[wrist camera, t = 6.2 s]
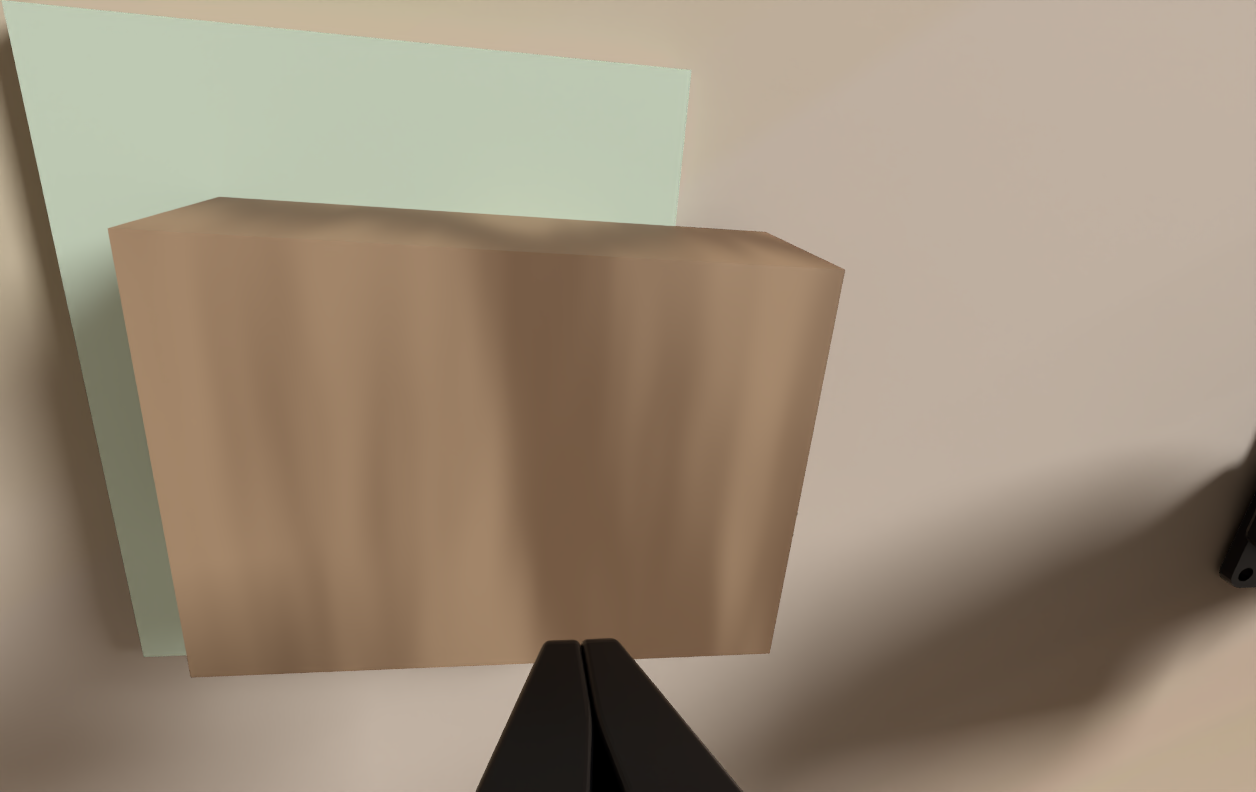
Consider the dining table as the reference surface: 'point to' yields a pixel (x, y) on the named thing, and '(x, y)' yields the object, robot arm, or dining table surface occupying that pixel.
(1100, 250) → the dining table surface
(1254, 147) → the dining table surface
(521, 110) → the rubber pad
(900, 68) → the dining table surface
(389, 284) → the walnut block
